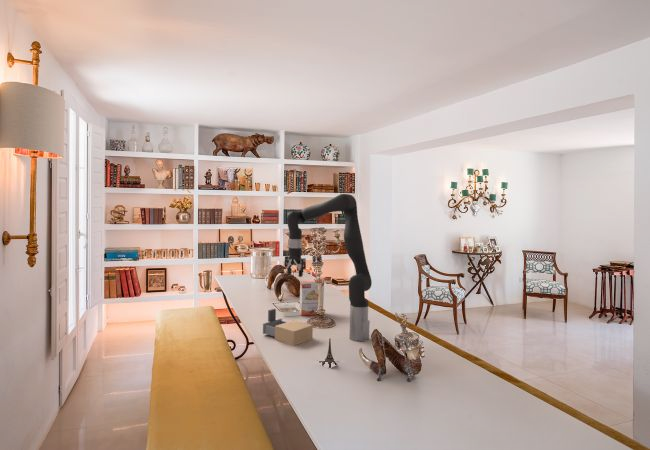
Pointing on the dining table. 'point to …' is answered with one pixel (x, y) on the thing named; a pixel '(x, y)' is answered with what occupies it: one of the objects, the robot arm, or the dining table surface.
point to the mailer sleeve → (293, 332)
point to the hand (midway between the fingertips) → (294, 275)
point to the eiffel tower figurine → (330, 358)
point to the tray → (271, 323)
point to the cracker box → (309, 297)
